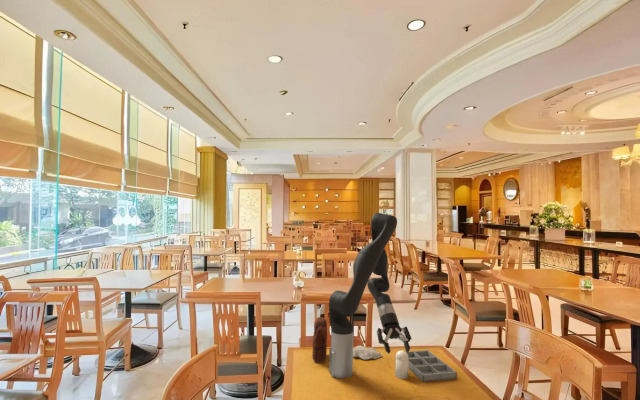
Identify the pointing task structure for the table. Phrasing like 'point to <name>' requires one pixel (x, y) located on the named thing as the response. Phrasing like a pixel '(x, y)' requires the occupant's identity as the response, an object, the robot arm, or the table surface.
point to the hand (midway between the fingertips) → (398, 352)
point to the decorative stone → (366, 353)
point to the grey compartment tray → (429, 366)
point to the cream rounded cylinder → (401, 365)
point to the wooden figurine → (320, 340)
